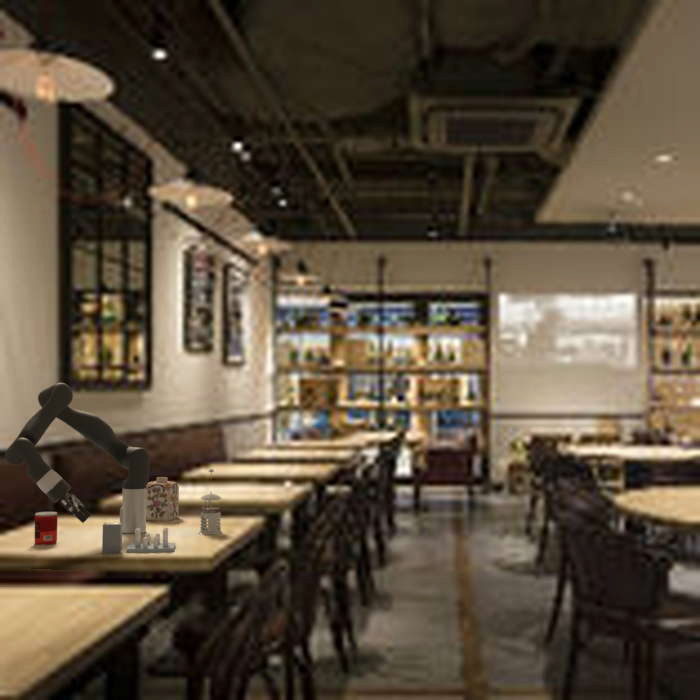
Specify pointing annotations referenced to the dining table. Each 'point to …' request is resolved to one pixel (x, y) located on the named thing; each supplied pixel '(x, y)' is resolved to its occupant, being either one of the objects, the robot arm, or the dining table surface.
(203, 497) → the french press
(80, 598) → the dining table surface
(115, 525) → the block
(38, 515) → the canned food
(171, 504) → the decorative jar
